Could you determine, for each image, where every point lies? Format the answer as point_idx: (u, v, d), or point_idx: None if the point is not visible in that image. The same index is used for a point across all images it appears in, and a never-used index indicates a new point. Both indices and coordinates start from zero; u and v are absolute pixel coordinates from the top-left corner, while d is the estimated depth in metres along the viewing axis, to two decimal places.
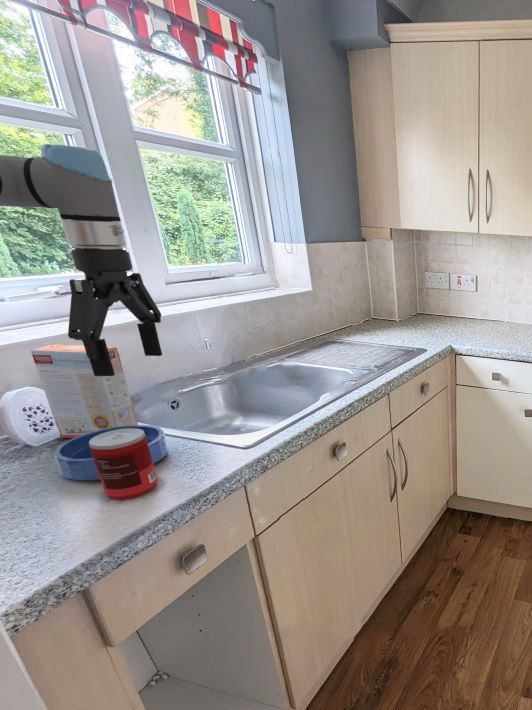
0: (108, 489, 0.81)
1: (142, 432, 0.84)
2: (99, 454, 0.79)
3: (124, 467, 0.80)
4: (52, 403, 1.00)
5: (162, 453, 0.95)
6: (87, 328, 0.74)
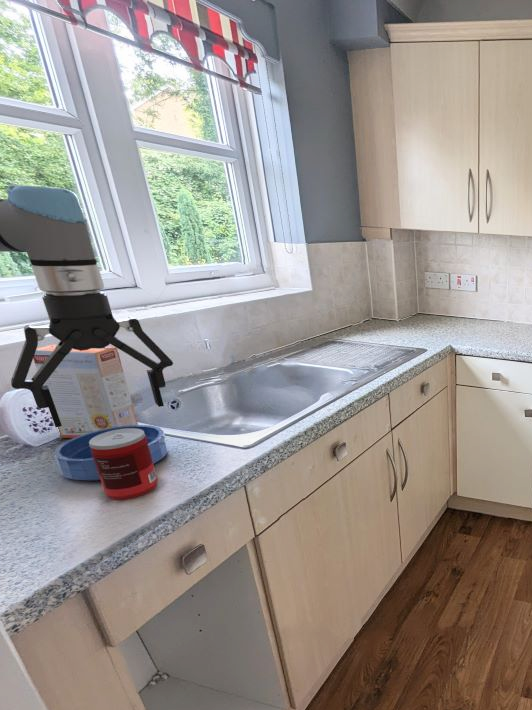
0: (108, 489, 0.81)
1: (142, 432, 0.84)
2: (99, 454, 0.79)
3: (124, 467, 0.80)
4: None
5: (162, 453, 0.95)
6: (18, 377, 0.70)
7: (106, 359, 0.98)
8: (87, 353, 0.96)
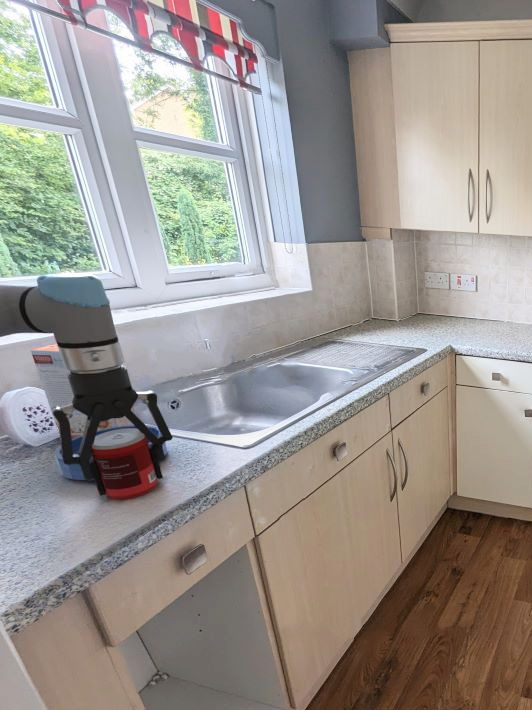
0: (108, 489, 0.81)
1: None
2: (99, 454, 0.79)
3: (124, 467, 0.80)
4: (52, 403, 1.00)
5: None
6: (66, 455, 0.76)
7: None
8: None
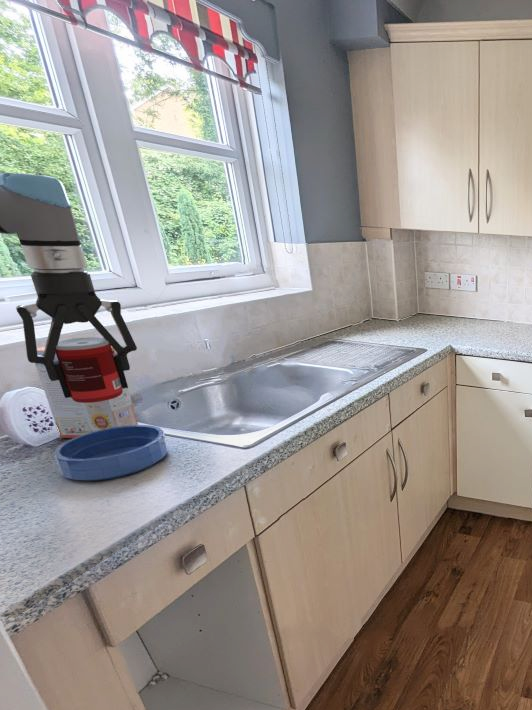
0: (73, 392, 0.85)
1: (106, 340, 0.87)
2: (63, 355, 0.82)
3: (88, 370, 0.84)
4: (52, 403, 1.00)
5: (162, 453, 0.95)
6: (30, 353, 0.80)
7: None
8: None
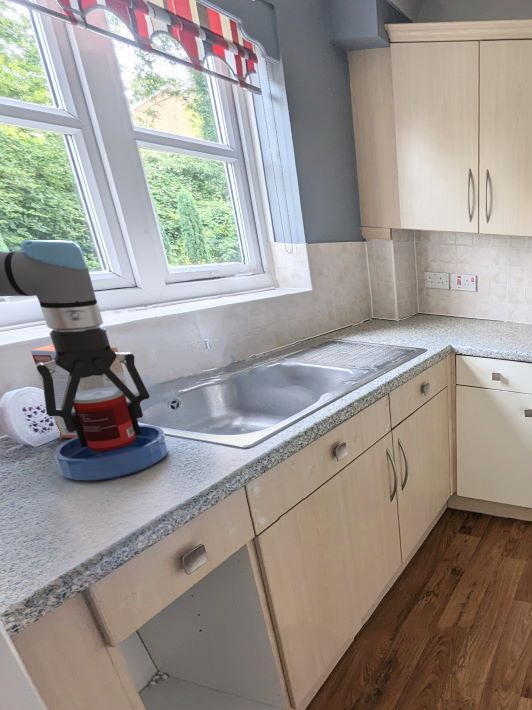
0: (89, 441, 0.88)
1: None
2: (80, 408, 0.86)
3: (104, 421, 0.88)
4: None
5: (162, 453, 0.95)
6: (49, 407, 0.83)
7: None
8: None
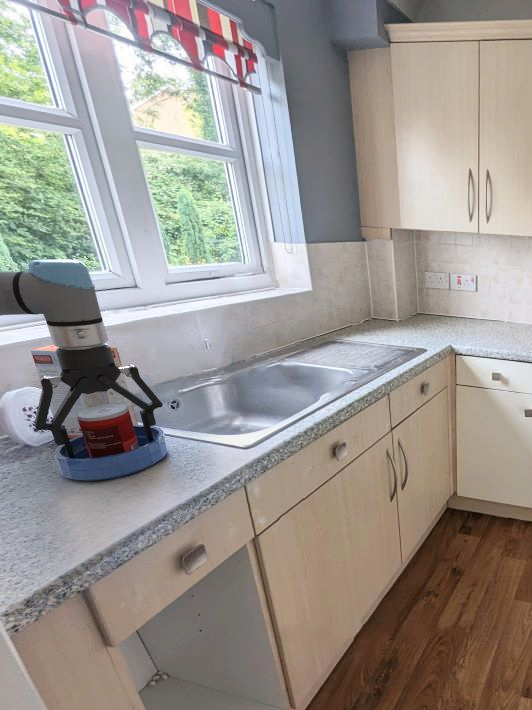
0: None
1: (125, 407, 0.92)
2: (85, 425, 0.87)
3: (109, 438, 0.89)
4: (52, 403, 1.00)
5: (162, 453, 0.95)
6: (39, 421, 0.83)
7: None
8: None
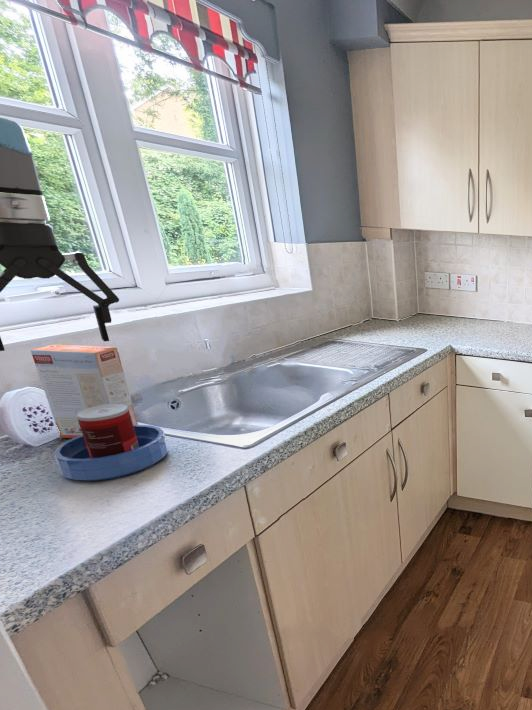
0: None
1: (125, 407, 0.92)
2: (85, 425, 0.87)
3: (109, 438, 0.89)
4: (52, 403, 1.00)
5: (162, 453, 0.95)
6: None
7: (106, 359, 0.98)
8: (87, 353, 0.96)
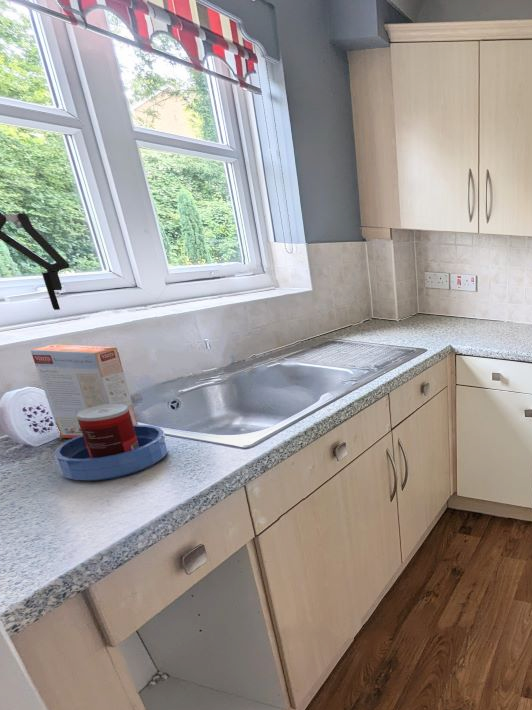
0: None
1: (125, 407, 0.92)
2: (85, 425, 0.87)
3: (109, 438, 0.89)
4: (52, 403, 1.00)
5: (162, 453, 0.95)
6: None
7: (106, 359, 0.98)
8: (87, 353, 0.96)
